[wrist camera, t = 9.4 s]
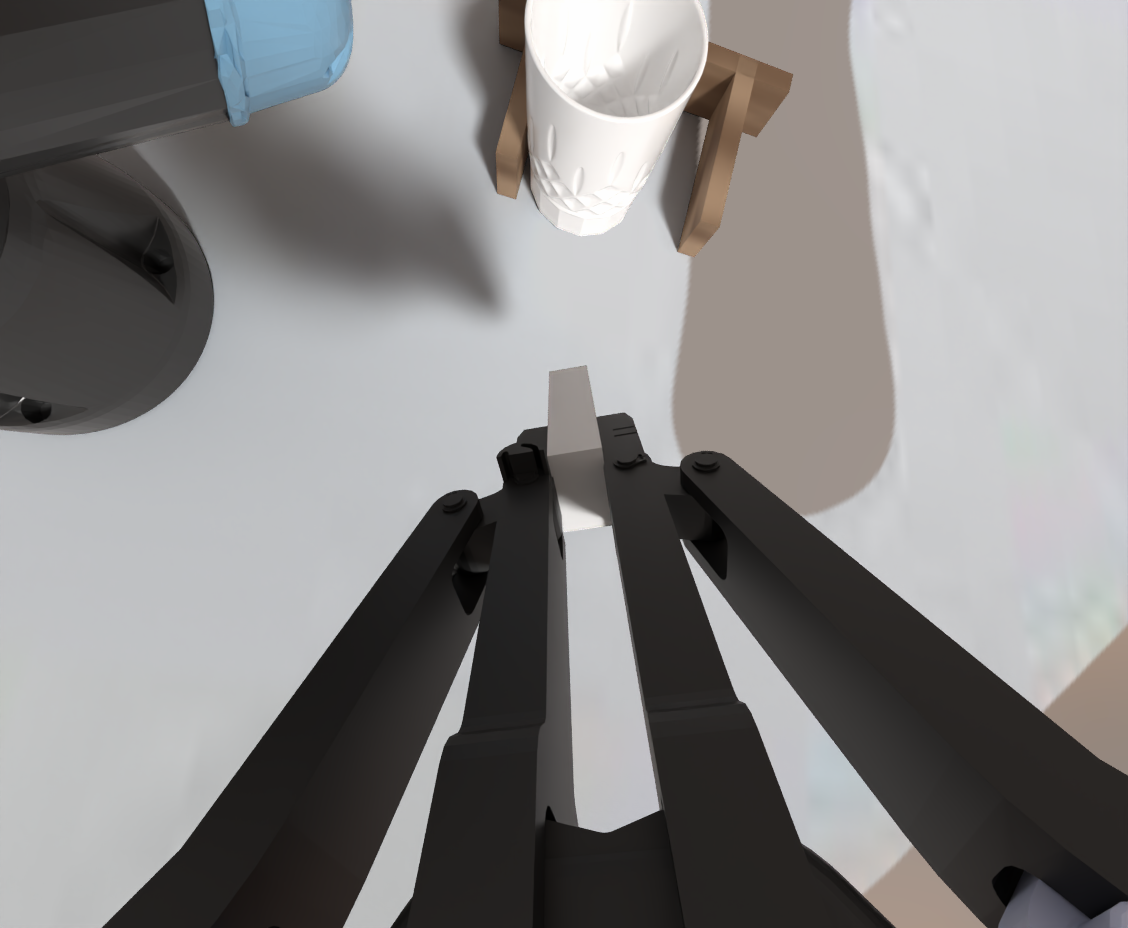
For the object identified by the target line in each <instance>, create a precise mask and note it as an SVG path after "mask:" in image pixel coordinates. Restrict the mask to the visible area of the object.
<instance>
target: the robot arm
mask: <svg viewBox="0 0 1128 928" xmlns="http://www.w3.org/2000/svg"><path fill="white" fill-rule="evenodd" d="M352 44H353V16H352V5H351V0H0V430H7V431H18V432H28V433H38V434H49V435H73V434H84V433H90V432H96V431H100V430H105V429H108V428H111V427H115V426H118V425H120V424H123V423H126V422H128V421H130V420H133V419H135V418H137V417H139V416H141V415H143V414H144V413H146V412H148V411H149V410H151V409H153V408H154V407H156V406H157V405H158V404H160V403H161V402H163V401H164V400H165V399H166V398H167V397H169V396H170V395H171V394H172V393H173V392H174V391H175V390H176V389H177V388H178V387H179V386H180V385H181V384H182V383H183V381H184V380H185V379H186V378H187V377H188V375H189V374H190V372H191V371H192V370H193V368H194V366H195V365H196V363H197V362H198V360H199V358H200V356H201V354H202V352H203V349H204V347H205V345H206V342H207V339H208V336H209V332H210V328H211V323H212V316H213V290H212V283H211V277H210V273H209V269H208V266H207V263H206V260H205V258H204V255H203V253H202V251H201V249H200V247H199V245H198V243H197V241H196V240H195V238H194V236H193V235H192V233H191V232H190V230H189V229H188V228H187V226H186V225H185V224H184V223H183V221H182V220H181V219H180V218H179V217H178V216H177V215H176V214H175V213H174V212H173V211H172V210H171V209H170V208H169V207H168V206H167V205H166V204H164V203H163V202H162V201H161V200H160V199H158V198H157V197H156V196H154V195H153V194H152V193H151V192H149V191H148V190H147V189H146V188H144V187H143V186H142V185H141V184H139V183H138V182H137V181H136V180H134V179H133V178H132V177H130V176H129V175H127V174H126V173H125V172H123V171H122V170H120V169H118V168H117V167H115V166H114V165H112V164H110V163H108V162H107V161H105V160H103V159H101V158H99V157H98V156H96V155H95V154H99V153H103V152H107V151H111V150H115V149H118V148H122V147H126V146H130V145H134V144H138V143H142V142H146V141H150V140H154V139H158V138H162V137H166V136H170V135H174V134H178V133H182V132H186V131H190V130H194V129H197V128H201V127H205V126H209V125H213V124H217V123H221V122H225V121H229V122H230V123H231V125H232V126H233V127H235V126H241V125H244V124H246V123H247V122H248V120H249V116H250V114H251V113H253V112H256V111H260V110H263V109H266V108H269V107H272V106H275V105H278V104H281V103H284V102H287V101H290V100H294V99H297V98H300V97H303V96H306V95H309V94H313V93H316V92H319V91H322V90H324V89H326V88H328V87H330V86H331V85H333V84H334V83H335V82H336V81H337V80H338V79H339V78H340V77H341V76H342V74H343V73H344V71H345V69H346V67H347V65H348V62H349V58H350V55H351V51H352ZM496 458H497V461H498V464H499V468H500V471H501V474H502V478H503V481H504V483H503V489H502V490H500V491H498V492H497V493H494V494H492V495H490V496H487V497H484V498H481V499H478V497H477V494H476V493H474V492H473V491H470V490H458V491H453V492H450V493H447V494H446V495H444V496H442V497H441V498H439V499H438V500H437V501H436V502H435V503H434V504H433V505H432V506H431V508H430V509H429V510H428V512H427V513H426V515H425V516H424V517H423V519H422V520H421V521H420V523H419V524H418V525H417V527H416V528H415V530H414V531H413V532H412V534H411V535H410V536H409V538H408V539H407V540H406V542H405V543H404V545H403V546H402V547H401V549H400V550H399V551H398V553H397V554H396V556H395V557H394V558H393V560H392V561H391V562H390V564H389V565H388V566H387V568H386V569H385V571H384V572H383V573H382V575H381V576H380V577H379V579H378V580H377V581H376V583H375V584H374V586H373V587H372V588H371V590H370V591H369V592H368V594H367V595H366V597H365V598H364V599H363V601H362V602H361V603H360V605H359V606H358V607H357V609H356V610H355V612H354V613H353V614H352V616H351V617H350V618H349V620H348V621H347V622H346V624H345V625H344V627H343V628H342V629H341V631H340V632H339V633H338V635H337V636H336V638H335V639H334V640H333V642H332V643H331V644H330V646H329V647H328V648H327V650H326V651H325V653H324V654H323V655H322V657H321V658H320V659H319V661H318V662H317V663H316V665H315V666H314V668H313V669H312V670H311V672H310V673H309V674H308V676H307V677H306V678H305V680H304V681H303V683H302V684H301V685H300V687H299V688H298V689H297V691H296V692H295V694H294V695H293V696H292V698H291V699H290V700H289V702H288V703H287V704H286V706H285V707H284V709H283V710H282V711H281V713H280V714H279V715H278V717H277V718H276V719H275V721H274V722H273V724H272V725H271V726H270V728H269V729H268V730H267V732H266V733H265V735H264V736H263V737H262V739H261V740H260V741H259V743H258V744H257V745H256V747H255V748H254V750H253V751H252V752H251V754H250V755H249V756H248V758H247V759H246V760H245V762H244V763H243V765H242V766H241V767H240V769H239V770H238V771H237V773H236V774H235V776H234V777H233V778H232V780H231V781H230V782H229V784H228V785H227V786H226V788H225V789H224V791H223V792H222V793H221V795H220V796H219V797H218V799H217V800H216V801H215V803H214V804H213V806H212V807H211V808H210V810H209V811H208V812H207V814H206V815H205V817H204V818H203V819H202V821H201V822H200V823H199V825H198V826H197V827H196V829H195V830H194V832H193V833H192V834H191V836H190V837H189V838H188V840H187V841H186V842H185V844H184V845H183V847H182V848H181V849H180V850H179V851H178V852H177V853H176V854H175V855H174V856H173V857H172V858H171V859H170V860H169V861H168V862H167V863H166V864H165V865H164V866H163V867H162V868H161V869H160V870H159V871H158V872H157V873H156V874H155V875H154V876H153V877H152V878H151V879H150V880H149V881H148V882H147V883H146V884H145V885H144V886H143V887H142V888H141V889H140V890H139V891H138V892H137V893H136V894H135V895H134V896H133V897H132V898H131V899H130V900H129V901H128V902H127V903H126V904H125V905H124V906H123V907H122V908H121V909H120V910H119V911H118V912H117V913H116V914H115V915H114V916H113V917H112V918H111V919H110V920H109V921H108V922H107V923H106V924H105V925H104V926H103V927H102V928H343V926H344V924H345V922H346V920H347V918H348V916H349V914H350V912H351V910H352V908H353V906H354V904H355V901H356V899H357V897H358V895H359V893H360V891H361V889H362V887H363V885H364V883H365V880H366V878H367V876H368V874H369V871H370V869H371V867H372V865H373V862H374V860H375V858H376V855H377V853H378V851H379V849H380V846H381V844H382V842H383V840H384V837H385V835H386V833H387V830H388V828H389V826H390V824H391V821H392V819H393V817H394V815H395V812H396V810H397V808H398V805H399V803H400V801H401V799H402V796H403V794H404V792H405V790H406V787H407V785H408V783H409V780H410V778H411V776H412V774H413V771H414V769H415V767H416V765H417V762H418V760H419V758H420V755H421V753H422V751H423V749H424V746H425V744H426V742H427V740H428V737H429V735H430V733H431V730H432V728H433V726H434V724H435V721H436V719H437V717H438V715H439V712H440V710H441V708H442V705H443V703H444V701H445V699H446V696H447V694H448V692H449V690H450V687H451V685H452V683H453V680H454V678H455V676H456V674H457V671H458V669H459V667H460V665H461V662H462V660H463V658H464V655H465V653H466V651H467V649H468V646H469V644H470V642H471V640H472V637H473V635H474V633H475V630H476V628H477V626H478V624H479V628H478V634H477V640H476V646H475V652H474V658H473V663H472V669H471V675H470V681H469V687H468V693H467V698H466V704H465V710H464V716H463V721H462V725H461V728H460V730H459V732H458V733H456V734H454V735H452V736H450V737H449V738H448V740H447V742H446V744H445V746H444V748H443V752H442V756H441V759H440V763H439V768H438V773H437V778H436V783H435V788H434V793H433V798H432V803H431V808H430V813H429V818H428V823H427V828H426V833H425V838H424V843H423V848H422V853H421V858H420V863H419V868H418V873H417V878H416V883H415V888H414V893H413V897H412V898H411V899H410V901H409V902H408V903H407V905H406V906H405V908H404V909H403V910H402V912H401V913H400V915H399V916H398V918H397V919H396V920H395V922H394V923H393V925H392V926H391V928H895V927H894V925H892V924H891V923H890V922H889V921H888V920H887V919H886V918H885V917H884V916H883V915H882V914H881V913H880V912H879V911H878V910H877V909H876V908H875V907H874V906H873V905H872V904H871V903H870V902H869V901H868V900H867V899H866V898H865V897H864V896H863V895H862V894H861V893H860V892H858V891H857V890H856V889H855V888H854V887H853V886H852V885H851V884H850V883H849V882H848V881H847V880H846V879H845V878H844V877H843V876H842V875H841V874H840V873H839V872H838V871H836V870H835V869H834V868H833V867H832V866H831V865H830V864H829V863H827V862H826V861H825V860H824V859H822V858H821V857H820V856H819V855H817V854H816V853H815V852H813V851H812V850H811V849H809V848H808V847H806V846H805V845H803V844H802V843H801V842H800V839H799V837H798V834H797V831H796V829H795V826H794V823H793V821H792V818H791V816H790V813H789V810H788V808H787V805H786V802H785V800H784V797H783V794H782V792H781V789H780V786H779V784H778V781H777V778H776V776H775V773H774V770H773V768H772V765H771V762H770V760H769V757H768V755H767V752H766V749H765V747H764V744H763V741H762V739H761V736H760V733H759V731H758V728H757V726H756V723H755V721H754V719H753V716H752V714H751V712H750V710H749V709H748V707H747V706H746V704H745V703H743V702H741V701H739V700H738V698H737V697H736V694H735V692H734V690H733V687H732V684H731V681H730V679H729V676H728V673H727V670H726V667H725V665H724V662H723V659H722V656H721V653H720V651H719V648H718V645H717V642H716V640H715V637H714V634H713V631H712V628H711V626H710V623H709V620H708V617H707V614H706V612H705V609H704V606H703V603H702V600H701V598H700V595H699V592H698V589H697V586H696V584H695V581H694V578H693V575H692V572H691V570H690V567H689V564H688V561H687V558H686V556H685V553H684V550H683V547H682V545H681V542H680V539H683V542H684V545H685V547H686V548H687V549H688V551H689V552H690V553H691V555H692V556H693V557H694V559H695V560H696V561H697V563H698V564H699V565H700V566H701V568H702V569H703V570H704V572H705V573H706V574H707V576H708V577H709V578H710V580H711V581H712V582H713V584H714V585H715V586H716V587H717V589H718V590H719V591H720V593H721V594H722V595H723V597H724V598H725V599H726V601H727V602H728V603H729V605H730V606H731V607H732V609H733V610H734V611H735V612H736V614H737V615H738V616H739V618H740V619H741V620H742V622H743V623H744V624H745V626H746V627H747V628H748V630H749V631H750V632H751V633H752V635H753V636H754V637H755V639H756V640H757V641H758V643H759V644H760V645H761V647H762V648H763V649H764V651H765V652H766V653H767V654H768V656H769V657H770V658H771V660H772V661H773V662H774V664H775V665H776V666H777V668H778V669H779V670H780V672H781V673H782V674H783V676H784V677H785V678H786V679H787V681H788V682H789V683H790V685H791V686H792V687H793V689H794V690H795V691H796V693H797V694H798V695H799V697H800V698H801V699H802V700H803V702H804V703H805V704H806V706H807V707H808V708H809V710H810V711H811V712H812V714H813V715H814V716H815V718H816V719H817V720H818V721H819V723H820V724H821V725H822V727H823V728H824V729H825V731H826V732H827V733H828V735H829V736H830V737H831V739H832V740H833V741H834V743H835V744H836V745H837V746H838V748H839V749H840V750H841V752H842V753H843V754H844V756H845V757H846V758H847V760H848V761H849V762H850V764H851V765H852V766H853V767H854V769H855V770H856V771H857V773H858V774H859V775H860V777H861V778H862V779H863V781H864V782H865V783H866V785H867V786H868V787H869V788H870V790H871V791H872V792H873V794H874V795H875V796H876V798H877V799H878V800H879V802H880V803H881V804H882V806H883V807H884V808H885V810H886V811H887V812H888V813H889V815H890V816H891V817H892V819H893V820H894V821H895V823H896V824H897V825H898V827H899V828H900V829H901V831H902V832H903V833H904V834H905V836H906V837H907V838H908V839H909V841H910V842H911V843H912V844H913V845H914V847H915V848H916V849H917V850H918V852H919V853H920V854H921V855H922V856H923V858H924V859H925V860H926V861H927V863H928V864H929V865H930V866H931V867H932V869H933V870H934V871H935V872H936V874H937V875H938V876H939V877H940V878H941V879H942V880H943V881H944V883H945V884H946V885H947V886H948V887H949V888H950V889H951V890H952V891H953V892H954V893H955V894H956V895H957V896H958V898H959V899H960V900H961V901H962V902H963V903H964V904H965V905H966V906H967V907H968V908H969V909H970V910H971V911H972V913H973V914H974V915H975V916H976V917H977V918H978V919H979V920H980V921H981V922H982V923H983V924H984V925H985V926H986V927H987V928H1128V776H1127V775H1126V774H1124V773H1122V772H1121V771H1119V770H1117V769H1116V768H1114V767H1112V766H1110V765H1109V764H1107V763H1105V762H1103V761H1102V760H1100V759H1099V758H1097V757H1096V756H1095V755H1093V754H1092V753H1091V752H1090V751H1089V750H1087V749H1086V748H1085V747H1084V746H1083V745H1081V744H1080V743H1079V742H1078V741H1076V740H1075V739H1074V738H1073V737H1072V736H1070V735H1069V734H1068V733H1067V732H1065V731H1064V730H1063V729H1062V728H1060V727H1059V726H1058V725H1057V724H1055V723H1054V722H1053V721H1052V720H1051V719H1049V718H1048V717H1047V716H1046V715H1045V714H1043V713H1042V712H1041V711H1040V710H1038V709H1037V708H1036V707H1035V706H1033V705H1032V704H1031V703H1030V702H1029V701H1027V700H1026V699H1025V698H1024V697H1022V696H1021V695H1020V694H1019V693H1018V692H1016V691H1015V690H1014V689H1013V688H1011V687H1010V686H1009V685H1008V684H1006V683H1005V682H1004V681H1003V680H1002V679H1000V678H999V677H998V676H997V675H995V674H994V673H993V672H992V671H991V670H989V669H988V668H987V667H986V666H984V665H983V664H982V663H981V662H979V661H978V660H977V659H976V658H975V657H973V656H972V655H971V654H970V653H968V652H967V651H966V650H965V649H964V648H962V647H961V646H960V645H959V644H957V643H956V642H955V641H954V640H952V639H951V638H950V637H949V636H948V635H946V634H945V633H944V632H943V631H941V630H940V629H939V628H938V627H937V626H935V625H934V624H933V623H932V622H930V621H929V620H928V619H927V618H925V617H924V616H923V615H922V614H921V613H919V612H918V611H917V610H916V609H914V608H913V607H912V606H911V605H910V604H908V603H907V602H906V601H905V600H903V599H902V598H901V597H900V596H898V595H897V594H896V593H895V592H894V591H892V590H891V589H890V588H889V587H887V586H886V585H885V584H884V583H883V582H881V581H880V580H879V579H878V578H876V577H875V576H874V575H873V574H871V573H870V572H869V571H868V570H867V569H865V568H864V567H863V566H862V565H860V564H859V563H858V562H857V561H856V560H854V559H853V558H852V557H851V556H849V555H848V554H847V553H846V552H844V551H843V550H842V549H841V548H840V547H838V546H837V545H836V544H835V543H833V542H832V541H831V540H830V539H829V538H827V537H826V536H825V535H824V534H822V533H821V532H820V531H819V530H817V529H816V528H815V527H814V526H813V525H811V524H810V523H809V522H808V521H806V520H805V519H804V518H803V517H802V516H800V515H799V514H798V513H797V512H795V511H794V510H793V509H792V508H790V507H789V506H788V505H787V504H786V503H784V502H783V501H782V500H781V499H779V498H778V497H777V496H776V495H775V494H773V493H772V492H771V491H769V490H768V489H767V488H766V487H764V486H763V485H762V484H761V483H760V482H759V481H757V480H756V479H755V478H754V477H752V476H751V475H750V474H748V473H747V472H746V471H745V470H744V469H743V468H741V467H740V466H739V465H738V464H736V463H735V462H734V461H733V460H731V459H730V458H729V457H727V456H725V455H724V454H722V453H717V452H713V451H701V452H696V453H692V454H690V455H687V456H686V457H684V458H683V459H682V460H681V464H680V467H672V466H662V465H659V464H655V463H653V462H652V461H651V458H650V457H649V456H648V454H646V453H644V450H643V447H642V444H641V441H640V438H639V436H638V433H637V430H636V427H635V424H634V421H633V418H631V417H630V416H629V415H627V414H626V413H618V414H612V415H606V416H600V417H596V413H595V408H594V403H593V397H592V392H591V387H590V381H589V376H588V370H587V365H585V366H580V367H574V368H568V369H562V370H556V371H551V372H549V402H548V426H545V427H539V428H533V429H527V430H524V431H523V432H522V433H521V434H520V436H519V437H518V438H517V443H514V444H511V445H509V446H507V447H505V448H504V449H502V450H501V451H500V452H499V453H498V455H497V457H496ZM562 525H563V529H564V532H569V531H576V530H583V529H590V528H597V527H604V526H610V525H612V528H613V534H614V541H615V548H616V555H617V558H618V564H619V570H620V576H621V582H622V588H623V594H624V600H625V606H626V612H627V617H628V623H629V629H630V635H631V641H632V647H633V653H634V659H635V665H636V671H637V677H638V683H639V689H640V694H641V700H642V706H643V712H644V718H645V724H646V730H647V736H648V742H649V748H650V754H651V760H652V766H653V771H654V777H655V783H656V789H657V796H658V802H659V808H660V811H657V812H655V813H653V814H651V815H648V816H646V817H644V818H642V819H639V820H637V821H635V822H632V823H630V824H628V825H626V826H623V827H621V828H619V829H617V830H614V831H612V832H608V833H601V832H596V831H592V830H588V829H584V828H580V827H578V821H577V814H576V808H575V799H574V783H573V754H572V726H571V697H570V668H569V639H568V610H567V582H566V553H565V541H564V536H563V532H562ZM479 621H480V623H479Z"/></svg>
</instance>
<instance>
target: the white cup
mask: <svg viewBox="0 0 1128 928" xmlns="http://www.w3.org/2000/svg"><path fill="white" fill-rule="evenodd" d="M524 23H525V65H526V113H527V128H528V149H529V156H530V162H531V190H532V193H533V195H534V198H535V200H536V203H537V206H538V208H539V211H540V212H541V213H542V214H543V215H544V216H545V217H546V218H547V219H548V220H549V221H550V222H551V223H552V224H553V225H554V226H555V227H556V228H558V229H561V230H563V231H566V232H569V233H572V234H574V235H577V236H588V235H598V234H603V233H605V232H606V231H608V230H609V229H611V228H613V227H614V226H616V225H617V224H619V223H621V222H622V220H623V218H624V216H625V215H626V213H627V211H628V210H629V208H630V206H631V205H632V203H633V201H634V199H635V197H636V195H637V193H638V192H639V191H640V190H641V189H642V188H643V186H644V184H645V182H646V180H647V178H648V176H649V175H650V173H651V171H652V169H653V168H654V166H655V164H656V162H657V160H658V158H659V157H660V155H661V153H662V151H663V149H664V147H665V145H666V143H667V141H668V139H669V138H670V136H671V134H672V132H673V130H674V128H675V126H676V124H677V122H678V120H679V118H680V116H681V114H682V112H683V110H684V108H685V106H686V105H687V103H688V101H689V99H690V97H691V95H692V93H693V91H694V89H695V87H696V85H697V83H698V82H699V80H700V77H701V75H702V73H703V70H704V67H705V63H706V59H707V53H708V30H707V24H706V19H705V15H704V12H703V9H702V6H701V4H700V1H699V0H527V2H526V7H525V19H524Z"/></svg>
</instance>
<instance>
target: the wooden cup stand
mask: <svg viewBox="0 0 1128 928" xmlns="http://www.w3.org/2000/svg"><path fill="white" fill-rule="evenodd" d="M526 2H527V0H499V43H500V44H502V45H505V46H507V47H510V48H513V49H516V50H518V51H521V52H523V54H522V57H521V61H520V65H519V68H518V72H517V76H516V79H515V83H514V87H513V90H512V94H511V98H510V101H509V105H508V109H507V112H506V116H505V120H504V123H503V127H502V131H501V134H500V138H499V142H498V146H497V149H496V172H497V193H498V194H501V195H504V196H507V197H510V198H513V199H516V197H517V193H518V190H519V186H520V182H521V178H522V175H523V171H524V167H525V164H526V160H527V156H528V152H529V149H528V128H527V113H526V65H525V23H524V19H525V7H526ZM792 77H793V74H791V73H788V72H786V71H783V70H781V69H778V68H775V67H773V66H770V65H768V64H765V63H762V62H760V61H757V60H755V59H752V58H750V57H747V56H744V55H742V54H739V53H737V52H734V51H731V50H729V49H726V48H724V47H721V46H719V45H716V44H713V43H711V42H708V53H707V59H706V63H705V67H704V70H703V73H702V75H701V77H700V80H699V82H698V83H697V85H696V87H695V89H694V91H693V93H692V95H691V97H690V99H689V101H688V103H687V105H686V106H685V108H684V110H683V111H686V112H688V113H691V114H694V115H697V116H699V117H702V118H705V119H708V120H709V124H708V127H707V132H706V136H705V140H704V144H703V148H702V152H701V156H700V161H699V165H698V169H697V173H696V177H695V181H694V185H693V190H692V194H691V198H690V202H689V206H688V210H687V215H686V219H685V223H684V227H683V231H682V235H681V239H680V244H679V248H678V252H680V253H683V254H686V255H689V256H692V257H695V256H696V254H697V253H698V252H699V251H700V250H701V249H702V247H703V246H704V245H705V244H706V243H707V242H708V240H709V239H710V238H711V237H712V236H713V234H714V233H715V232H716V231H717V230H718V228H719V227H720V223H721V218H722V214H723V210H724V206H725V202H726V197H727V193H728V189H729V185H730V180H731V176H732V172H733V168H734V163H735V159H736V155H737V151H738V146H739V142H740V138H741V133H742V132H744V133H746V134H749V135H752V136H755V137H757V136H758V134H759V133H760V131H761V130H762V129H763V127H764V126H765V125H766V123H767V122H768V121H769V119H770V118H771V116H772V115H773V114H774V112H775V111H776V110H777V108H778V107H779V105H780V104H781V102H782V101H783V100H784V99H785V97H786V96H787V94H788V93H789V90H790V86H791V81H792Z"/></svg>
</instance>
